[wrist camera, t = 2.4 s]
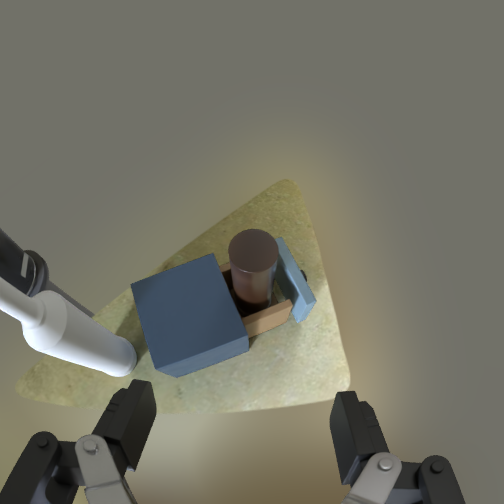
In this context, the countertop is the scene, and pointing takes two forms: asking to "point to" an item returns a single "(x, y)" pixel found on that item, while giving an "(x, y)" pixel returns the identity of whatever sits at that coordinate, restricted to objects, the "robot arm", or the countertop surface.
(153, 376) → the countertop surface
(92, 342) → the bottle
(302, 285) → the drawer
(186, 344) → the cabinet
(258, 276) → the pepper mill
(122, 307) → the countertop surface
